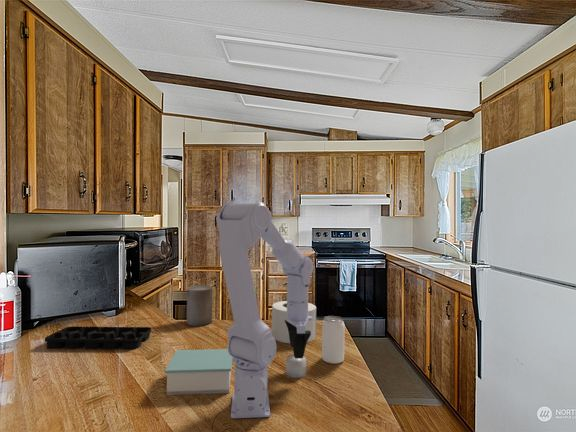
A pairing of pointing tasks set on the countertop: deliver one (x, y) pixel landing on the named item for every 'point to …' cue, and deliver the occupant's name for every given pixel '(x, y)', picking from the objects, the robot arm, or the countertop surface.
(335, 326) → the can
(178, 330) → the countertop surface
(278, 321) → the toilet paper roll
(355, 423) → the countertop surface
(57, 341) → the black muffin tray
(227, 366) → the lid
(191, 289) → the pillar candle
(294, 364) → the grey rounded dome
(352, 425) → the countertop surface
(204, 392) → the box
